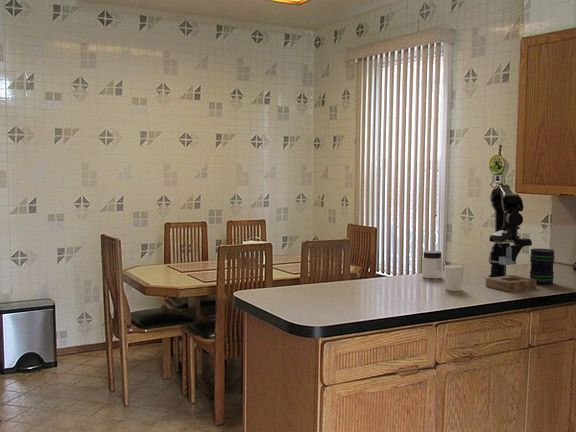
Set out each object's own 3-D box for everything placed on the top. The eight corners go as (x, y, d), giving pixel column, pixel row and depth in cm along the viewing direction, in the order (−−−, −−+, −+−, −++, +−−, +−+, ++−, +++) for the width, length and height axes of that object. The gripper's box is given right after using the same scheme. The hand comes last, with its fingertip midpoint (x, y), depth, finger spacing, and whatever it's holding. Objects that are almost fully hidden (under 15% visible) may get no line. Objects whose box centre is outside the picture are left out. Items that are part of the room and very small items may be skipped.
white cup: (441, 290, 262) (442, 266, 261) (446, 287, 269) (446, 264, 268) (460, 292, 259) (461, 268, 258) (464, 288, 266) (465, 265, 265)
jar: (434, 279, 286) (434, 253, 285) (419, 277, 292) (419, 251, 291) (444, 277, 292) (445, 251, 291) (429, 275, 298) (430, 250, 297)
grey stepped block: (509, 262, 271) (509, 246, 271) (516, 264, 268) (516, 247, 267) (498, 263, 269) (499, 247, 268) (505, 265, 265) (506, 248, 265)
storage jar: (549, 281, 282) (550, 248, 281) (556, 285, 272) (557, 251, 271) (526, 281, 283) (527, 248, 282) (532, 285, 273) (534, 251, 272)
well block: (512, 283, 278) (512, 275, 278) (536, 288, 267) (536, 279, 266) (485, 286, 271) (485, 278, 270) (509, 292, 259) (509, 283, 259)
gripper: (480, 223, 272) (479, 258, 273) (513, 226, 255) (512, 264, 257) (499, 221, 277) (498, 256, 278) (533, 225, 260) (532, 262, 262)
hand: (509, 260), depth 269 cm, fingers closed on grey stepped block, 4 cm apart
